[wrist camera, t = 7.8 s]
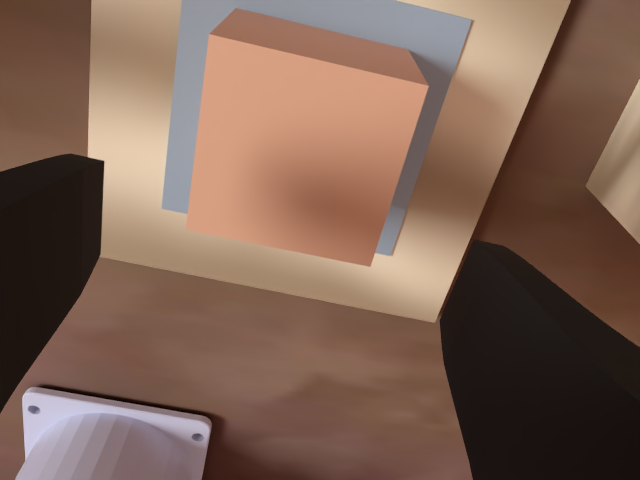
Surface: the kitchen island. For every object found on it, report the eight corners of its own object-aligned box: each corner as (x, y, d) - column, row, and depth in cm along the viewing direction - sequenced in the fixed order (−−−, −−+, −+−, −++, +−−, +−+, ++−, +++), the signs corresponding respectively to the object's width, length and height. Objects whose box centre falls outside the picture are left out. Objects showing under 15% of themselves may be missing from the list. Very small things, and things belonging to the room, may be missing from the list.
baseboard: (432, 313, 22) (434, 324, 21) (91, 245, 20) (84, 255, 20) (585, -57, 15) (596, -56, 15) (104, -189, 14) (94, -193, 13)
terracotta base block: (363, 201, 19) (370, 267, 15) (213, 170, 18) (185, 230, 15) (407, 49, 16) (428, 85, 13) (235, 8, 16) (208, 34, 12)
